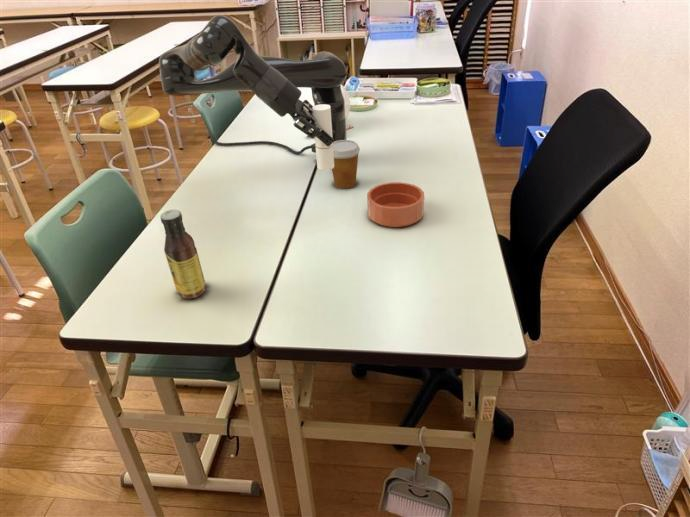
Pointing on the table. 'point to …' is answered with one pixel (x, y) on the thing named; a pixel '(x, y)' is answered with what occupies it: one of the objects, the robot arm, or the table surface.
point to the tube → (322, 151)
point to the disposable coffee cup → (345, 163)
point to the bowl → (395, 204)
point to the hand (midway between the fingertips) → (331, 139)
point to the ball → (346, 99)
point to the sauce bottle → (182, 256)
